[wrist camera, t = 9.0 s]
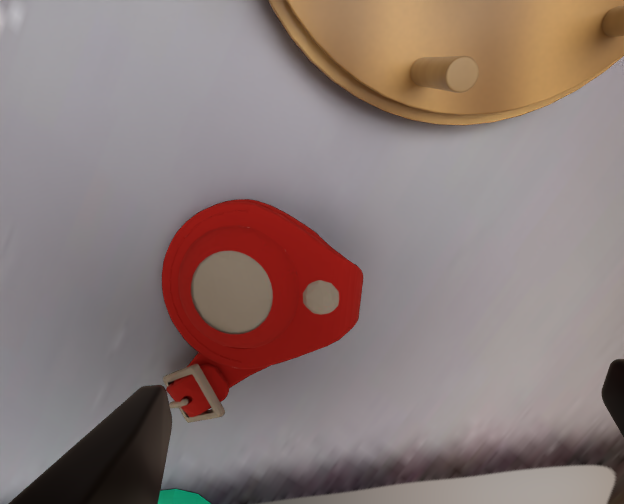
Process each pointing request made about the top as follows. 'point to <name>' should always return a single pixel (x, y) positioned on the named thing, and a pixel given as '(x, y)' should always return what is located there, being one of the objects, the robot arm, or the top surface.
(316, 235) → the tracker holder
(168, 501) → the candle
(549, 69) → the drying rack
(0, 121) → the top surface
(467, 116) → the rack base
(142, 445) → the robot arm
